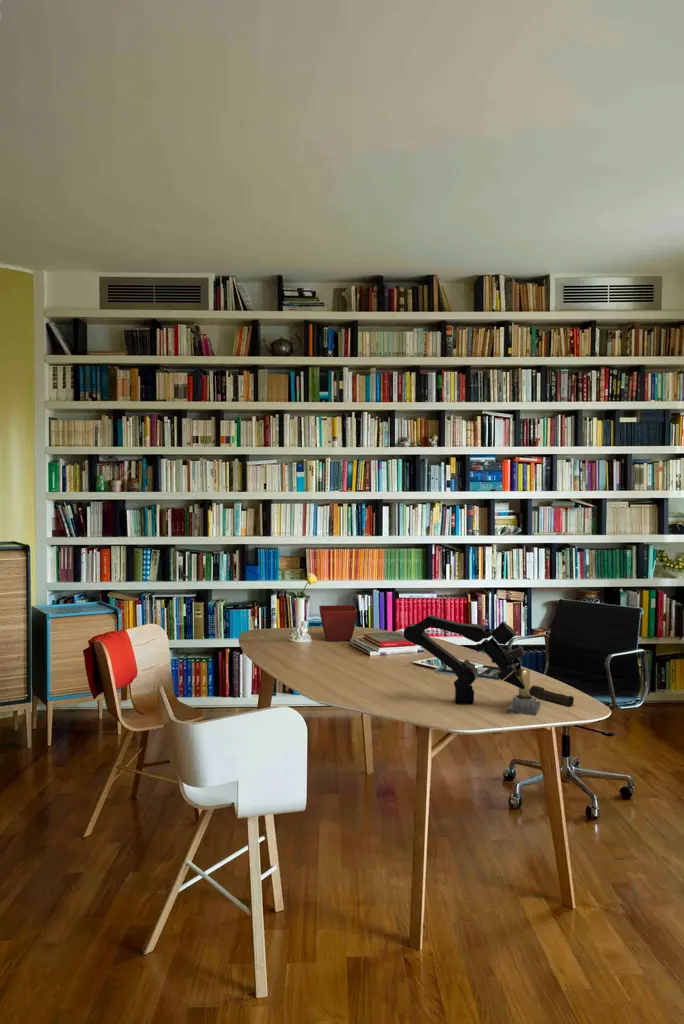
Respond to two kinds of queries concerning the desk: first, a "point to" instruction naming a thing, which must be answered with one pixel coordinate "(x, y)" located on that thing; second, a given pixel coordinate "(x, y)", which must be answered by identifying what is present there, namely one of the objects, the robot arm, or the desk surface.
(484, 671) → the sketchbook
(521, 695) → the brass hinge pin
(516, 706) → the plate with ring collar
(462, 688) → the robot arm
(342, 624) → the plant pot
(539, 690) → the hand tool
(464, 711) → the desk surface
